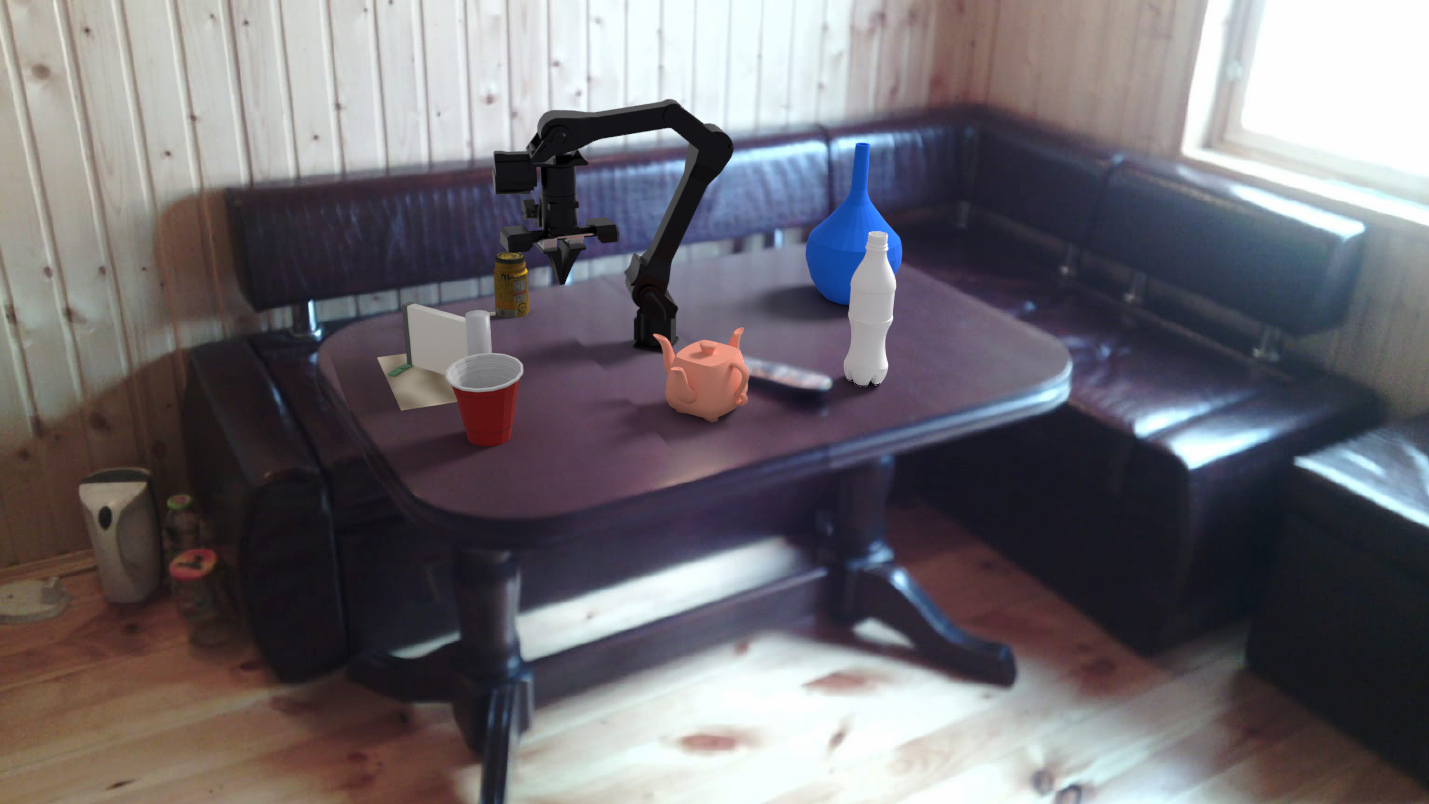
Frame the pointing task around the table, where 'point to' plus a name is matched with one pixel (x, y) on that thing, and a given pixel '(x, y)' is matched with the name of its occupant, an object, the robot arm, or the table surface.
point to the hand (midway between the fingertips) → (561, 284)
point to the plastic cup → (486, 395)
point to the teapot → (705, 377)
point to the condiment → (510, 285)
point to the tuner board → (415, 384)
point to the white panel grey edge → (443, 336)
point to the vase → (848, 237)
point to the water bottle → (870, 313)
